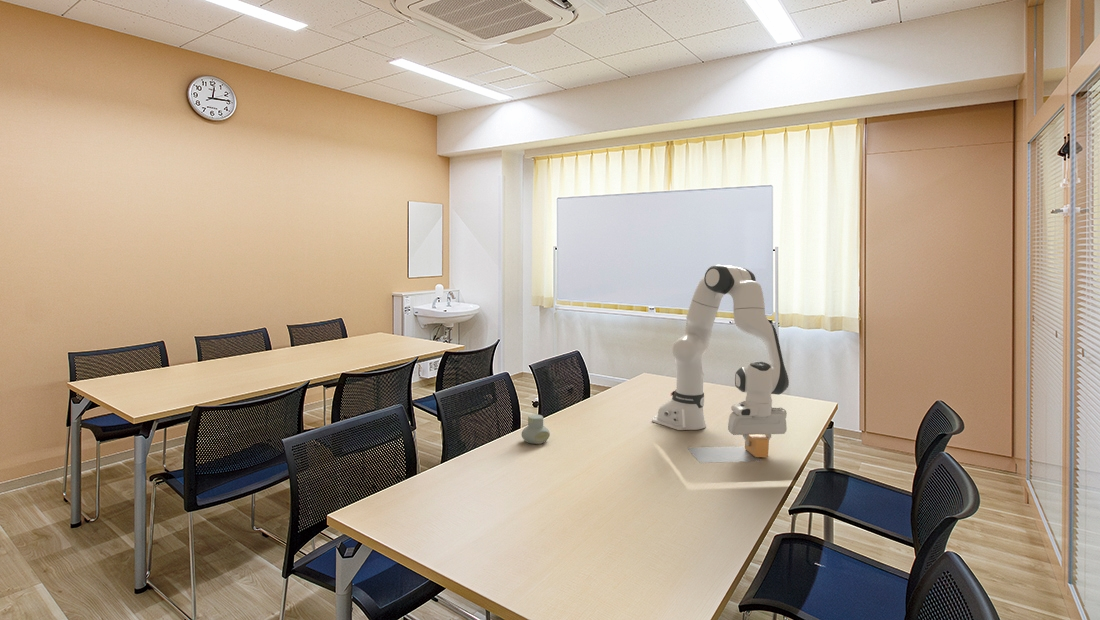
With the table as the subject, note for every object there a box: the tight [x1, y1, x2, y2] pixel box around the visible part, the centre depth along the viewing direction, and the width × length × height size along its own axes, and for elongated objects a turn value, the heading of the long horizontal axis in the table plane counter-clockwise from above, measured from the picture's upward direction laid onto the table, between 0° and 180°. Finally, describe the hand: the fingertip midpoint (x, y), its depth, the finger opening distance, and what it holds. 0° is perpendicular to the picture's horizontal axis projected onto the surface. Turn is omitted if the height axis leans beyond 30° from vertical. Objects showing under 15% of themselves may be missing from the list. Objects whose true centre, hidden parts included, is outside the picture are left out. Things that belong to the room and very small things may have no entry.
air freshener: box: [521, 414, 551, 445], centre depth 210 cm, size 11×8×10 cm
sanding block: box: [744, 434, 770, 458], centre depth 195 cm, size 9×4×6 cm, turn 4°
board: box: [686, 445, 762, 464], centre depth 194 cm, size 22×14×2 cm, turn 94°
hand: (756, 445), depth 195 cm, fingers closed on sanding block, 4 cm apart
